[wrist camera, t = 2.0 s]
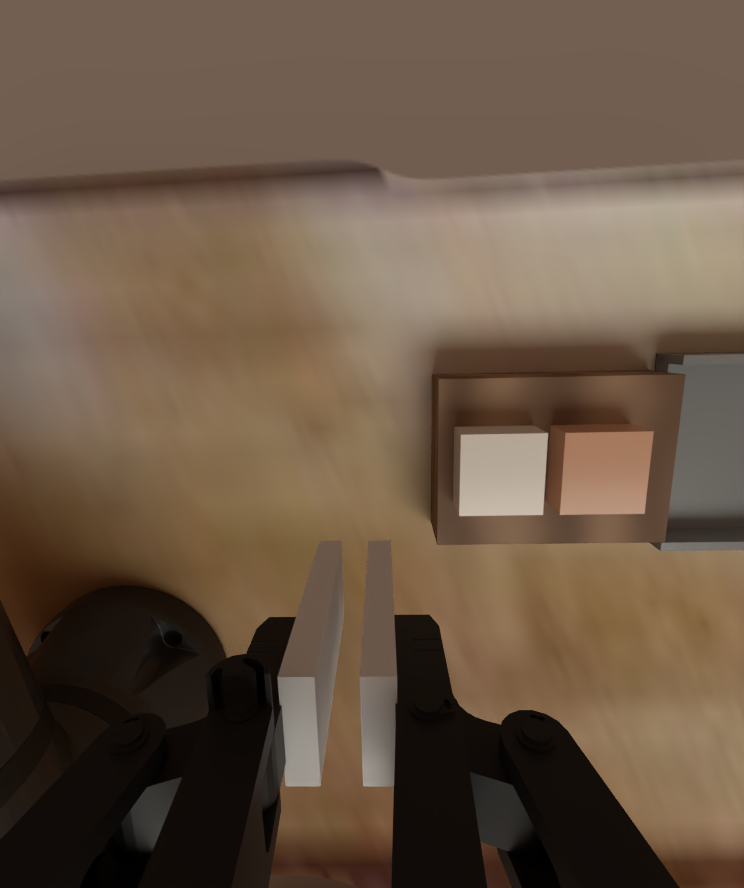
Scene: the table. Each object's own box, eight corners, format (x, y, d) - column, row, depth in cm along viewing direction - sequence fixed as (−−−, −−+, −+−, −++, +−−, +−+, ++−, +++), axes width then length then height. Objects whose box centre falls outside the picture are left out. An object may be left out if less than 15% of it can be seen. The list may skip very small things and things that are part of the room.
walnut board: (431, 522, 35) (437, 544, 31) (431, 374, 33) (438, 379, 29) (632, 519, 35) (664, 542, 31) (648, 370, 32) (685, 374, 28)
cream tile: (453, 502, 30) (459, 516, 28) (454, 426, 29) (460, 434, 27) (530, 500, 30) (543, 515, 28) (534, 425, 29) (548, 433, 27)
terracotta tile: (545, 500, 30) (559, 514, 28) (550, 425, 29) (565, 433, 27) (623, 499, 30) (644, 513, 28) (630, 423, 29) (653, 431, 27)
